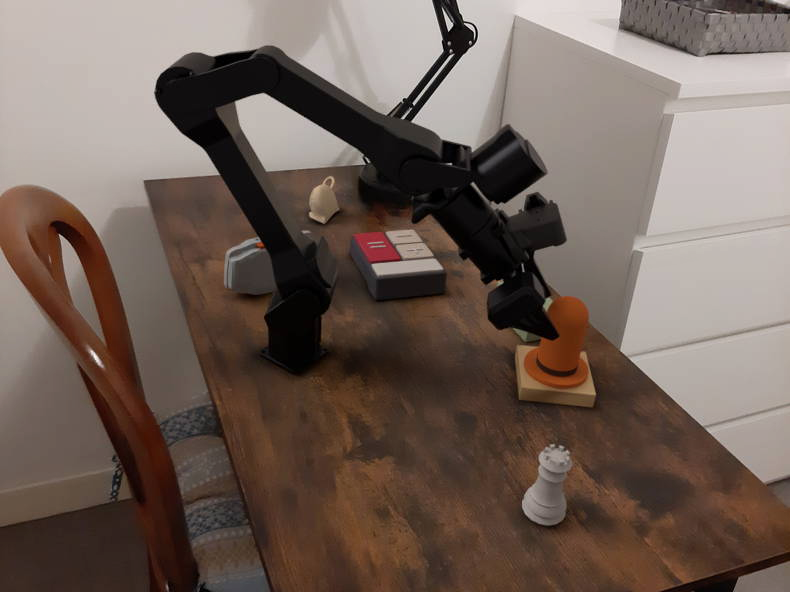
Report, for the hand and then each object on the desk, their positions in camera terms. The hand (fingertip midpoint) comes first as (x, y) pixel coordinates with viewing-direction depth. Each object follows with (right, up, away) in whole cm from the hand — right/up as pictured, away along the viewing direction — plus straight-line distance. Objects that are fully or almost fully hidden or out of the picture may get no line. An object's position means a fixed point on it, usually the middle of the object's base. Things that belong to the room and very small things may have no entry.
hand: (552, 316), depth 91 cm
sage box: (-1, -1, +16) cm, 16 cm away
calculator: (-19, +6, +26) cm, 32 cm away
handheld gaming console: (-37, +4, +20) cm, 42 cm away
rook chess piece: (-4, -20, -14) cm, 24 cm away
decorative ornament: (-31, +19, +40) cm, 54 cm away
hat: (+1, -7, +4) cm, 8 cm away
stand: (+1, -8, +5) cm, 10 cm away
